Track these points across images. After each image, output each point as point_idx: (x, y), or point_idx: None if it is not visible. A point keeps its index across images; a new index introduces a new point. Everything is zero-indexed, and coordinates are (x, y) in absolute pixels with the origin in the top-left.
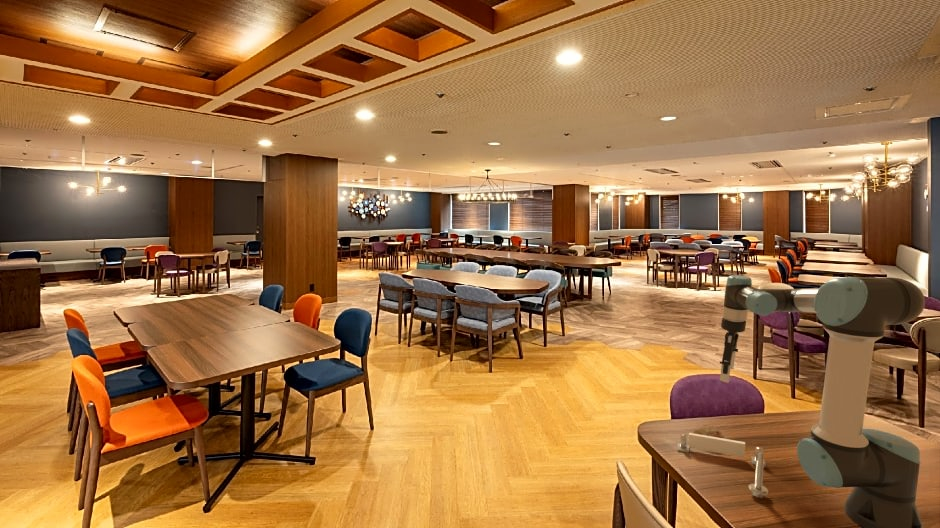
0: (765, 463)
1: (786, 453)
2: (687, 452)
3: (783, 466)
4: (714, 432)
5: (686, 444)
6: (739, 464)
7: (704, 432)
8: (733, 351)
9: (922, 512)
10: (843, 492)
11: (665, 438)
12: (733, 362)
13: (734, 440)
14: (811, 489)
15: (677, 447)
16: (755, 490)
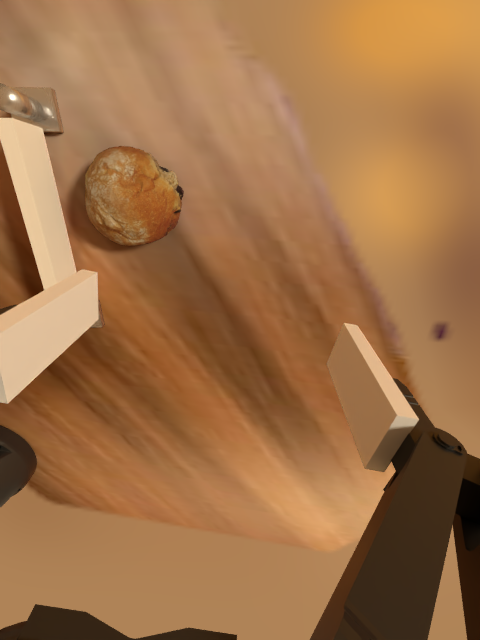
0: None
1: (175, 371)
2: None
3: (101, 358)
4: (99, 216)
5: (25, 118)
6: None
7: (90, 182)
8: (394, 462)
9: (64, 498)
10: (55, 429)
11: (83, 39)
12: (338, 393)
13: (53, 272)
14: (27, 388)
15: (22, 88)
16: None
